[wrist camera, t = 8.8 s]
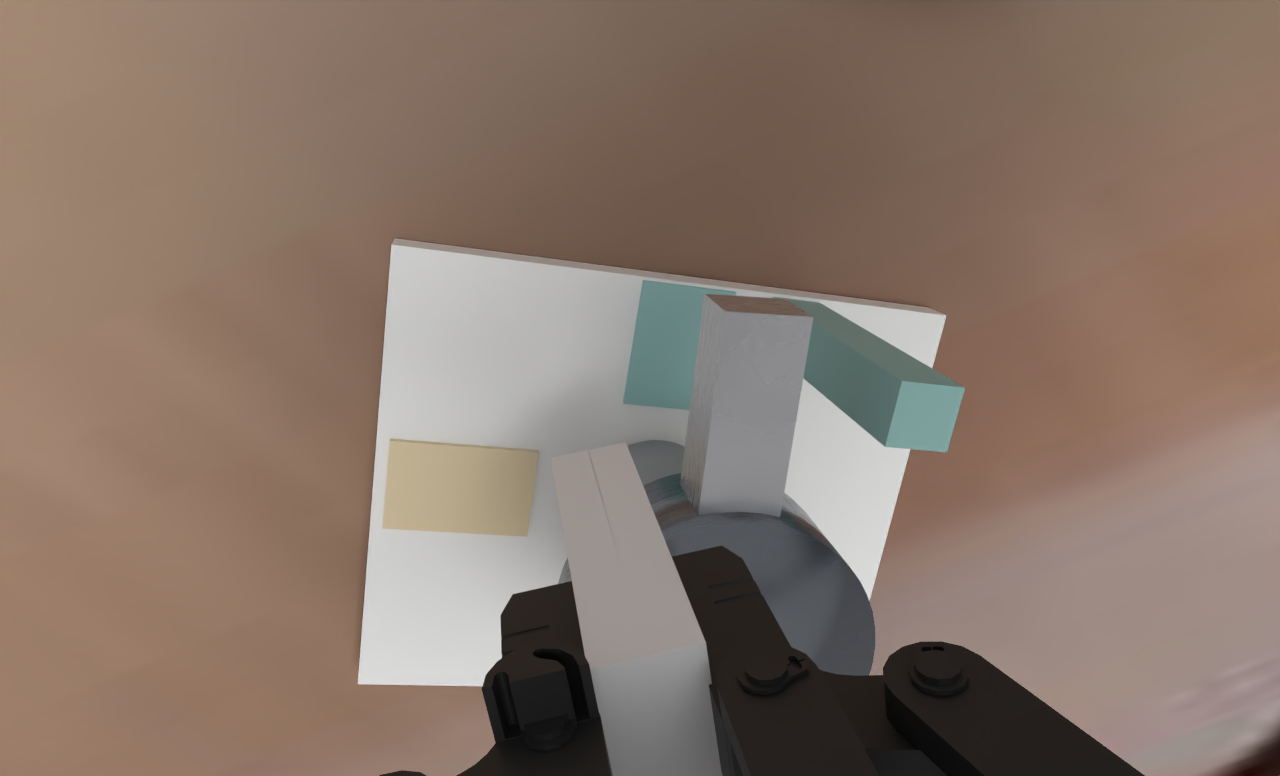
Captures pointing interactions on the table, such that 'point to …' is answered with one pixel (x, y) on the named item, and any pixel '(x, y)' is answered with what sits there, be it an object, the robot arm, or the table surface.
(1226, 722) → the table surface
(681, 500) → the knob
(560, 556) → the lock base
